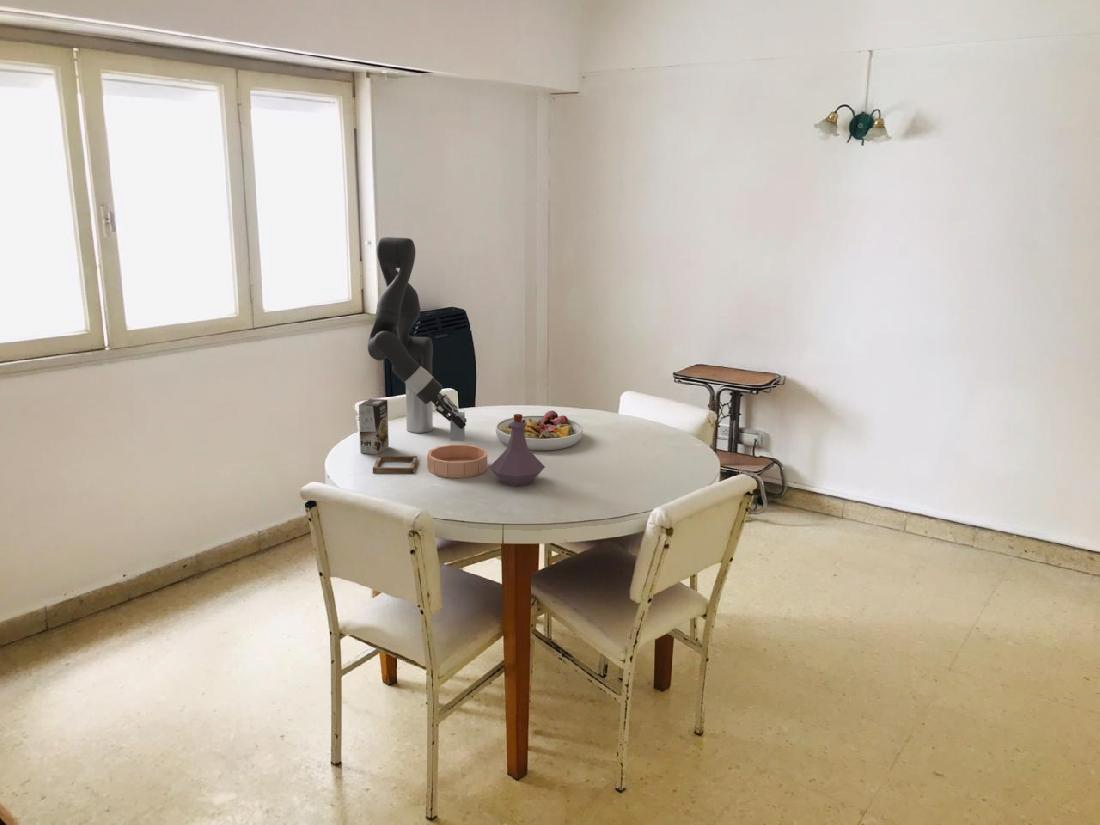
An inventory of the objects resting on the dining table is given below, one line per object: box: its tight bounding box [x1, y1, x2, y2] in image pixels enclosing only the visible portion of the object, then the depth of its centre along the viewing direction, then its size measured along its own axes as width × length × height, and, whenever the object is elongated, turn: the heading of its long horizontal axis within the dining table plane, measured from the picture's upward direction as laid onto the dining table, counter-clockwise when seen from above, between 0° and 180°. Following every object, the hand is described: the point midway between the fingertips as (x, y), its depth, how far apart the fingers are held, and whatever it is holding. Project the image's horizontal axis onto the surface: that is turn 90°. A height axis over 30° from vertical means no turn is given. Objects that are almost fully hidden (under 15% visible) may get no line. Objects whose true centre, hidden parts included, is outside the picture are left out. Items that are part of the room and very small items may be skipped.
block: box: [449, 411, 466, 442], centre depth 241 cm, size 4×4×8 cm
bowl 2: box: [495, 410, 584, 452], centre depth 275 cm, size 30×30×8 cm
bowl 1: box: [426, 443, 489, 479], centre depth 244 cm, size 18×18×5 cm
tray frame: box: [372, 455, 419, 474], centre depth 245 cm, size 12×12×2 cm
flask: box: [488, 413, 546, 487], centre depth 233 cm, size 16×16×20 cm
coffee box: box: [358, 398, 390, 455], centre depth 259 cm, size 9×6×16 cm
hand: (464, 424), depth 241 cm, fingers closed on block, 4 cm apart
